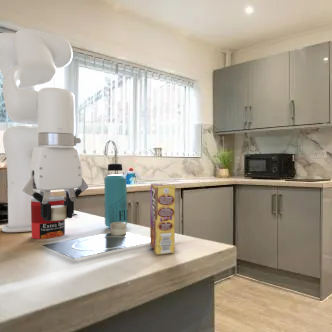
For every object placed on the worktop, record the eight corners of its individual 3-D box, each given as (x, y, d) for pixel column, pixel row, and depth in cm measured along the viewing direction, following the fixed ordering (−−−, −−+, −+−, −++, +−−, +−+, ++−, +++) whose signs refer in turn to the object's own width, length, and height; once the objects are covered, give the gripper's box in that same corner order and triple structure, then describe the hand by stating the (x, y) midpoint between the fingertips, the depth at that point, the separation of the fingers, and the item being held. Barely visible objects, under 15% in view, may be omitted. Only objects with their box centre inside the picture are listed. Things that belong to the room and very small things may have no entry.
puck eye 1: (44, 219, 78) (44, 206, 77) (63, 216, 81) (62, 204, 81) (51, 221, 75) (51, 208, 75) (69, 218, 78) (69, 206, 78)
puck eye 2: (107, 234, 89) (107, 223, 89) (121, 231, 92) (121, 221, 92) (115, 236, 86) (115, 224, 86) (129, 233, 89) (129, 222, 89)
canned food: (40, 243, 82) (40, 199, 82) (25, 239, 87) (24, 198, 86) (71, 237, 89) (70, 196, 89) (55, 234, 93) (54, 195, 93)
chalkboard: (41, 248, 78) (41, 244, 78) (120, 233, 93) (120, 230, 93) (74, 262, 66) (74, 258, 66) (158, 243, 82) (158, 239, 82)
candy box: (176, 253, 72) (175, 184, 72) (156, 255, 71) (155, 185, 70) (167, 244, 80) (167, 182, 80) (149, 246, 79) (149, 183, 78)
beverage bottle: (119, 232, 95) (118, 163, 94) (99, 231, 96) (98, 163, 96) (132, 227, 101) (131, 163, 101) (113, 227, 102) (112, 163, 102)
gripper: (85, 143, 86) (86, 212, 87) (9, 140, 73) (10, 222, 74) (99, 142, 81) (100, 216, 82) (20, 139, 68) (21, 226, 69)
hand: (57, 218), depth 78 cm, fingers closed on puck eye 1, 4 cm apart
